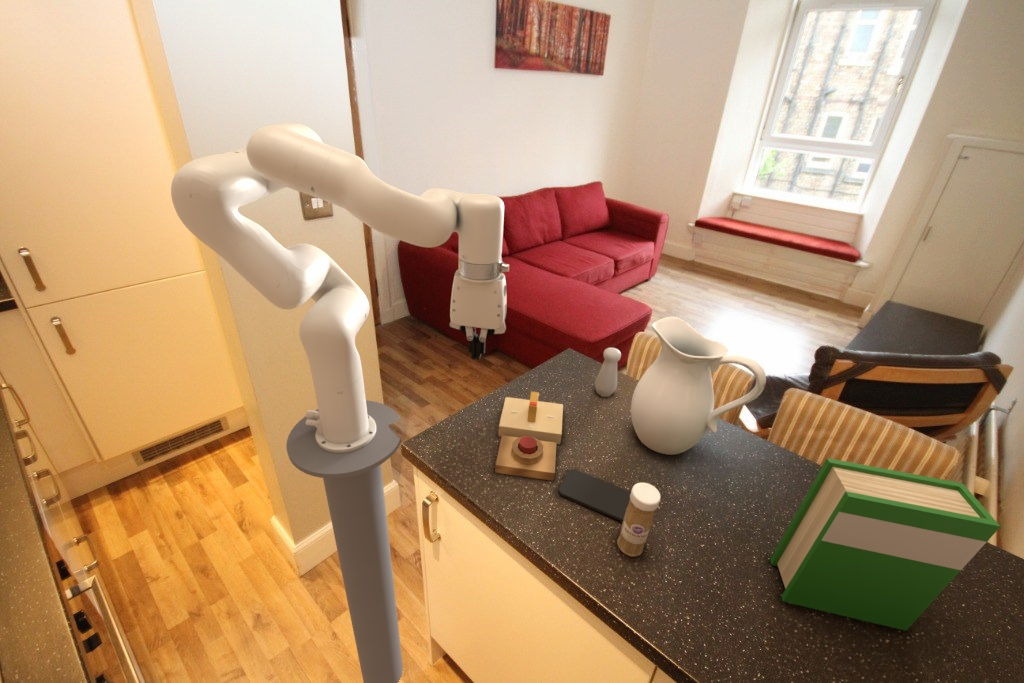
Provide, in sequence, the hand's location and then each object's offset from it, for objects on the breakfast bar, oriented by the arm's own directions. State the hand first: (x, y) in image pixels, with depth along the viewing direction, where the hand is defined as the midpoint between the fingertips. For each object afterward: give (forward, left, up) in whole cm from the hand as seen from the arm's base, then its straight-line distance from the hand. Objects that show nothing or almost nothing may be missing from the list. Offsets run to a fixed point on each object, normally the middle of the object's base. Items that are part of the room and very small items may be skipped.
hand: (476, 355), depth 88 cm
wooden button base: (+12, -4, -22) cm, 25 cm away
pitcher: (+45, +7, -22) cm, 51 cm away
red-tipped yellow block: (+12, +8, -19) cm, 24 cm away
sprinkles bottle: (+32, -21, -22) cm, 44 cm away
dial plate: (+12, +8, -22) cm, 26 cm away
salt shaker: (+30, +25, -22) cm, 45 cm away
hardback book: (+65, -24, -22) cm, 73 cm away
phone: (+27, -11, -22) cm, 37 cm away
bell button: (+12, -4, -19) cm, 22 cm away
